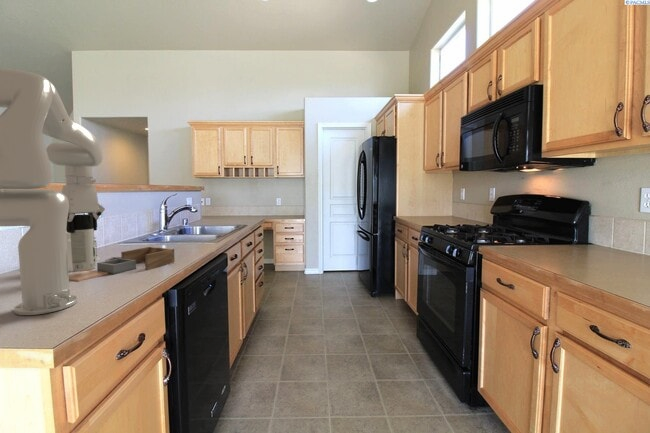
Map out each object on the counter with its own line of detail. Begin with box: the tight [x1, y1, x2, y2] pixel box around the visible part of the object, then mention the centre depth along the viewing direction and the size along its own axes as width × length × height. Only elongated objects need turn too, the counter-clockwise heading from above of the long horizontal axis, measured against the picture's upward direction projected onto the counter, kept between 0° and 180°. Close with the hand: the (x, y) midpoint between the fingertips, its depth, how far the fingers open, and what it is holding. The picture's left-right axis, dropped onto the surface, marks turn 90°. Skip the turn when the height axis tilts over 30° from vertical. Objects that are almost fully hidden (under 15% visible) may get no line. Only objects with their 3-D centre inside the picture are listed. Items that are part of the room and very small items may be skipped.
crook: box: [105, 256, 122, 261], centre depth 136 cm, size 14×6×1 cm, turn 95°
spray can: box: [70, 213, 97, 273], centre depth 111 cm, size 7×7×20 cm
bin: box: [96, 258, 137, 275], centre depth 120 cm, size 9×9×4 cm
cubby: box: [120, 246, 175, 271], centre depth 130 cm, size 14×13×6 cm
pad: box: [69, 269, 109, 282], centre depth 112 cm, size 10×10×1 cm
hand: (82, 230), depth 111 cm, fingers closed on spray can, 6 cm apart
